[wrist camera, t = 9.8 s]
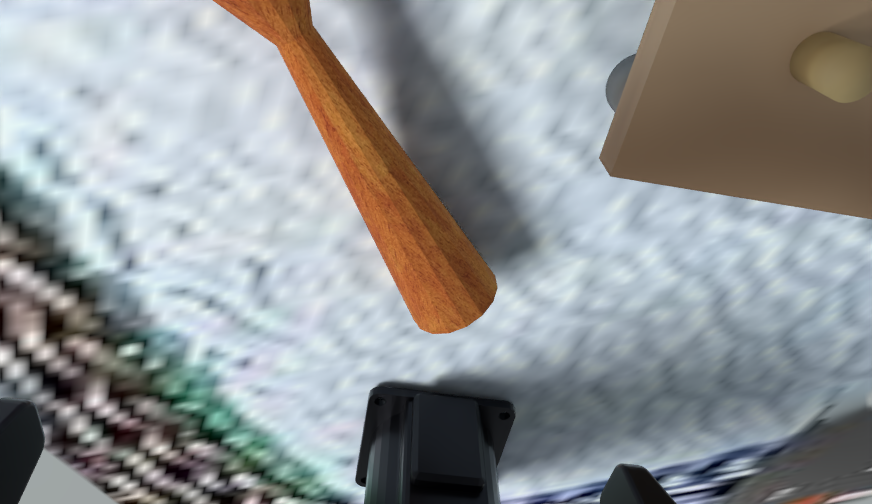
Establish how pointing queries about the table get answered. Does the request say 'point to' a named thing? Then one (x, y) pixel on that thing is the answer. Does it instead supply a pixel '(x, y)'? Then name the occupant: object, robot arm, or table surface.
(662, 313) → the table surface
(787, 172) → the peg board
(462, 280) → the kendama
